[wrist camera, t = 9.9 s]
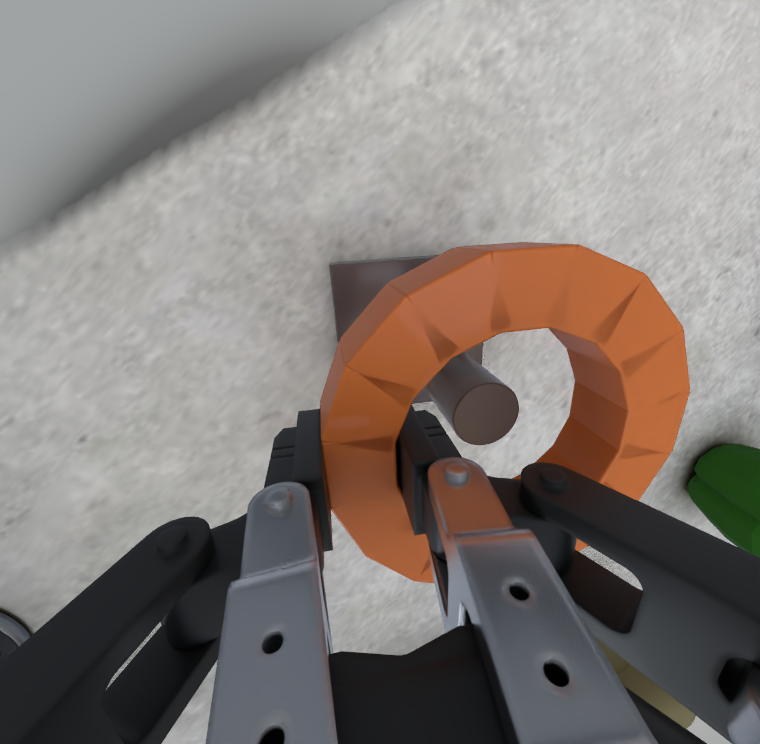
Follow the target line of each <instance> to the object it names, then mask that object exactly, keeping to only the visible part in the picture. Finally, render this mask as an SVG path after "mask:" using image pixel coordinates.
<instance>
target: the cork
mask: <svg viewBox="0 0 760 744" xmlns="http://www.w3.org/2000/svg"><path fill="white" fill-rule="evenodd" d="M594 637H595V636H594ZM595 638H596V637H595ZM596 640H597V642H598V643H599V645H600V647H601V648H602V650H603V652H604V653H605V655H606V657H607V659H608V660H609V662H610V664H611V665H612V667H613V669H614V670H615V672H616V674H617V676H618V677H619V679H620V681H621V682H622V684H623V685H624V686H625V687H627V688H628V689H630V690H631V691H632V692H634V693H635V694H637V695H638V696H640V697H641V698H642V699H644V700H645V701H647V702H648V703H649V704H651V705H652V706H654V707H655V708H657V709H658V710H659V711H661V712H662V713H664V714H665V715H667V716H668V717H669V718H671V719H672V720H674V721H675V722H677V723H678V724H679V725H681V726H682V727H684V728H685V729H687V728H688V727H689V726H690V725H691V724H692V722H693V721H694V719H695V716H696V715H695V714H694V713H692V712H691V711H690V710H688V709H687V708H686V707H685V706H683V705H682V704H681V703H679V702H678V701H677V700H676V699H674V698H673V697H672V696H671V695H669V694H668V693H667V692H665V691H664V690H663V689H662V688H660V687H659V686H658V685H656V684H655V683H654V682H653V681H651V680H650V679H649V678H647V677H646V676H645V675H644V674H642V673H641V672H640V671H638V670H637V669H636V668H635V667H633V666H632V665H631V664H629V663H628V662H627V661H626V660H624V659H623V658H622V657H620V656H619V655H618V654H617V653H615V652H614V651H613V650H611V649H610V648H609V647H608V646H606V645H605V644H604V643H602V642H601V641H600V640H599V639H597V638H596Z"/></svg>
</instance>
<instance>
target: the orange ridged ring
mask: <svg viewBox="0 0 760 744" xmlns="http://www.w3.org/2000/svg"><path fill="white" fill-rule="evenodd" d="M541 328H549V329H550V331H551V332H552V333H553V334H554V335H555V336H556V337H557V338H558V339H559V340H560V341H561V343H562V344H563V345H564V346H565V347H566V348H567V351H568V355H569V359H570V363H571V366H572V370H573V374H574V378H575V384H574V391H573V397H572V403H571V409H570V416H569V418H568V419H567V421H566V423H565V425H564V427H563V428H562V430H561V432H560V434H559V436H558V437H557V439H556V441H555V443H554V444H553V446H552V447H551V448H550V449H549V450H548V451H547V452H546V453H545V454H543V455H542V456H541V457H540V458H539V459H538V460H537V461H536V462H535V463H540V462H546V463H553V464H558V465H561V466H564V467H566V468H568V469H571V470H573V471H575V472H577V473H579V474H581V475H583V476H586V477H588V478H590V479H592V480H594V481H596V482H598V483H601V484H603V485H605V486H607V487H609V488H611V489H613V490H616V491H618V492H620V493H622V494H624V495H626V496H628V497H631V498H633V499H635V500H637V501H639V499H640V498H641V496H642V495H643V493H644V492H645V490H646V489H647V487H648V486H649V484H650V483H651V482H652V480H653V479H654V477H655V476H656V474H657V473H658V471H659V470H660V468H661V467H662V465H663V464H664V462H665V461H666V460H667V458H668V457H669V455H670V452H672V451H673V447H674V444H675V440H676V437H677V434H678V430H679V427H680V424H681V420H682V417H683V414H684V410H685V407H686V403H687V400H688V397H689V393H690V391H689V390H690V385H689V376H688V366H687V357H686V348H685V338H684V330H683V326H682V325H681V324H680V322H679V321H678V319H677V318H676V316H675V315H674V314H673V312H672V311H671V309H670V308H669V306H668V305H667V304H666V302H665V301H664V299H663V298H662V296H661V295H660V294H659V292H658V291H657V289H656V288H655V286H654V285H653V284H652V282H651V281H650V279H649V278H648V276H647V275H646V274H645V273H643V272H640V271H638V270H636V269H634V268H631V267H629V266H627V265H624V264H622V263H620V262H618V261H615V260H613V259H611V258H608V257H606V256H604V255H602V254H599V253H597V252H595V251H592V250H590V249H588V248H586V247H583V246H581V245H575V244H556V243H530V242H520V243H506V244H492V245H478V246H464V247H457V248H452V249H450V250H449V251H447V252H445V253H443V254H441V255H439V256H437V257H435V258H433V259H431V260H429V261H428V262H426V263H424V264H422V265H420V266H418V267H416V268H414V269H412V270H410V271H409V272H407V273H405V274H403V275H401V276H399V277H397V278H395V279H393V280H391V281H390V282H389V283H388V284H386V285H385V286H384V287H383V288H382V289H381V291H380V292H379V293H378V294H377V295H376V297H375V298H374V299H373V300H372V301H371V302H370V304H369V305H368V306H367V307H366V308H365V310H364V311H363V312H362V313H361V314H360V315H359V317H358V318H357V319H356V320H355V321H354V323H353V324H352V325H351V326H350V327H349V329H348V330H347V331H346V332H345V333H344V334H343V336H342V337H341V339H340V341H339V342H338V346H337V349H336V352H335V355H334V358H333V362H332V365H331V368H330V371H329V375H328V378H327V381H326V384H325V387H324V391H323V394H322V397H321V400H320V413H321V443H322V450H323V457H324V464H325V472H326V479H327V486H328V493H329V500H330V507H331V510H332V511H333V513H334V514H335V515H336V517H337V518H338V519H339V521H340V522H341V523H342V525H343V526H344V527H345V529H346V530H347V532H348V533H349V534H350V536H351V537H352V538H353V540H354V541H355V542H356V544H357V545H358V546H359V548H360V549H361V550H362V552H363V553H364V554H365V556H367V557H369V558H371V559H372V560H374V561H376V562H378V563H380V564H382V565H384V566H386V567H388V568H390V569H392V570H394V571H396V572H398V573H400V574H402V575H403V576H405V577H407V578H409V579H411V580H413V581H418V582H428V583H434V578H433V574H432V570H431V565H430V561H429V542H428V539H427V536H426V534H421V535H416V536H415V535H414V532H413V529H412V526H411V522H410V519H409V516H408V513H407V510H406V507H405V504H404V501H403V498H402V490H401V487H400V484H399V481H398V478H397V458H396V441H397V439H398V436H399V434H400V431H401V429H402V426H403V424H404V421H405V419H406V416H407V414H408V411H409V409H410V406H411V404H412V401H413V399H414V398H415V397H416V396H417V395H418V394H419V393H420V392H421V391H422V389H423V388H424V387H425V386H426V385H427V384H428V383H429V382H430V381H431V380H432V379H433V378H434V377H435V375H436V374H437V373H438V372H439V371H440V370H441V369H442V368H443V367H444V366H445V365H446V364H447V363H448V361H449V360H450V359H451V358H453V357H455V356H457V355H459V354H461V353H463V352H465V351H467V350H468V349H470V348H472V347H474V346H476V345H478V344H480V343H482V342H484V341H486V340H488V339H490V338H492V337H494V336H496V335H497V334H499V333H503V332H513V331H522V330H531V329H541ZM520 478H521V474H520V475H518V476H516V477H514V478H512V479H520ZM588 546H589V545H587V544H586V543H584V542H582V541H581V540H579V539H577V542H576V547H575V550H577V551H580V550H582V549H584V548H585V547H588Z"/></svg>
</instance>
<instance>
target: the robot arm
mask: <svg viewBox="0 0 760 744" xmlns="http://www.w3.org/2000/svg"><path fill="white" fill-rule="evenodd" d="M396 458H397V478H398V481H399V484H400V487H401V490H402V498H403V501H404V504H405V507H406V510H407V513H408V516H409V519H410V522H411V526H412V529H413V532H414V535H415V536H416V535H421V534H426V536H427V539H428V542H429V561H430V565H431V570H432V574H433V578H434V583H435V587H436V592H437V596H438V601H439V605H440V610H441V614H442V619H443V623H444V628H445V634H443V635H441V636H439V637H438V638H436V639H434V640H432V641H431V642H429V643H427V644H425V645H423V646H422V647H420V648H418V649H416V650H414V651H413V652H411V653H409V654H407V655H402V656H396V655H383V654H369V653H356V652H343V651H342V652H337V653H333V646H332V639H331V631H330V624H329V616H328V608H327V601H326V593H325V586H324V578H323V568H324V552H325V551H330V550H333V546H332V525H331V507H330V500H329V493H328V486H327V479H326V472H325V464H324V457H323V450H322V443H321V413H320V409H314V410H306V411H299V412H298V420H297V427H292V428H284V429H282V431H281V432H280V433H279V434H278V435H277V436H276V437H275V438H274V443H273V448H272V453H271V459H270V462H269V467H268V471H267V476H266V481H265V486H264V489H262V490H261V491H260V492H258V493H257V494H256V495H255V496H254V497H253V498H252V500H251V501H250V503H249V505H248V511H247V513H246V514H245V515H243V516H241V517H239V518H238V519H235V520H233V521H231V522H228V523H226V524H223V525H221V526H218V527H215V528H213V529H210V527H209V524H208V523H207V522H206V521H205V520H204V519H202V518H199V517H184V518H179V519H176V520H173V521H170V522H168V523H166V524H164V525H162V526H160V527H158V528H157V529H155V530H154V531H152V532H151V533H150V534H149V535H147V536H146V537H145V538H144V539H143V540H142V541H141V542H139V543H138V544H137V545H136V546H135V547H134V548H132V549H131V550H130V551H129V552H128V553H127V554H125V555H124V556H123V557H122V558H121V559H120V560H119V561H117V562H116V563H115V564H114V565H113V566H112V567H110V568H109V569H108V570H107V571H106V572H105V573H104V574H102V575H101V576H100V577H99V578H98V579H97V580H95V581H94V582H93V583H92V584H91V585H90V586H89V587H87V588H86V589H85V590H84V591H83V592H82V593H80V594H79V595H78V596H77V597H76V598H75V599H73V600H72V601H71V602H70V603H69V604H68V605H67V606H65V607H64V608H63V609H62V610H61V611H60V612H58V613H57V614H56V615H55V616H54V617H53V618H52V619H50V620H49V621H48V622H47V623H46V624H45V625H43V626H42V627H41V628H40V629H39V630H38V631H37V632H35V633H34V634H33V635H32V636H31V637H30V635H29V633H28V632H27V631H26V629H25V628H24V627H23V626H22V625H20V624H19V623H18V622H17V621H15V620H14V619H12V618H10V617H9V616H7V615H5V614H3V613H1V612H0V744H161V743H162V742H163V740H164V739H165V737H166V736H167V734H168V733H169V731H170V730H171V728H172V727H173V725H174V724H175V722H176V721H177V719H178V718H179V716H180V715H181V713H182V712H183V710H184V709H185V707H186V706H187V704H188V703H189V701H190V700H191V698H192V697H193V695H194V694H195V692H196V691H197V689H198V688H199V686H200V685H201V683H202V682H203V680H204V679H205V677H206V676H207V674H208V673H209V671H210V670H211V668H212V667H213V665H214V664H215V662H216V661H217V659H218V662H217V669H216V676H215V683H214V690H213V697H212V703H211V710H210V717H209V724H208V731H207V738H206V744H707V743H705V742H704V741H702V740H701V739H699V738H698V737H696V736H695V735H694V734H692V733H691V732H689V731H688V730H687V729H685V728H684V727H682V726H681V725H679V724H678V723H677V722H675V721H674V720H672V719H671V718H669V717H668V716H667V715H665V714H664V713H662V712H661V711H659V710H658V709H657V708H655V707H654V706H652V705H651V704H649V703H648V702H647V701H645V700H644V699H642V698H641V697H640V696H638V695H637V694H635V693H634V692H632V691H631V690H630V689H628V688H627V687H625V686H624V685H623V684H622V682H621V681H620V679H619V677H618V676H617V674H616V672H615V670H614V669H613V667H612V665H611V664H610V662H609V660H608V659H607V657H606V655H605V653H604V652H603V650H602V648H601V647H600V645H599V643H598V642H597V640H596V638H597V639H599V640H600V641H601V642H602V643H604V644H605V645H606V646H608V647H609V648H610V649H611V650H613V651H614V652H615V653H617V654H618V655H619V656H620V657H622V658H623V659H624V660H626V661H627V662H628V663H629V664H631V665H632V666H633V667H635V668H636V669H637V670H638V671H640V672H641V673H642V674H644V675H645V676H646V677H647V678H649V679H650V680H651V681H653V682H654V683H655V684H656V685H658V686H659V687H660V688H662V689H663V690H664V691H665V692H667V693H668V694H669V695H671V696H672V697H673V698H674V699H676V700H677V701H678V702H679V703H681V704H682V705H683V706H685V707H686V708H687V709H688V710H690V711H691V712H692V713H694V714H695V715H696V716H698V717H699V718H700V719H701V720H703V721H704V722H705V723H706V724H708V725H709V726H710V727H712V728H713V729H714V730H715V731H717V732H718V733H719V734H721V735H722V736H723V737H725V738H726V739H727V740H728V741H730V742H731V743H732V744H760V558H759V557H757V556H755V555H753V554H751V553H749V552H746V551H744V550H742V549H740V548H738V547H736V546H734V545H731V544H729V543H727V542H725V541H723V540H721V539H719V538H716V537H714V536H712V535H710V534H708V533H706V532H704V531H701V530H699V529H697V528H695V527H693V526H691V525H689V524H686V523H684V522H682V521H680V520H678V519H676V518H673V517H671V516H669V515H667V514H665V513H663V512H661V511H658V510H656V509H654V508H652V507H650V506H648V505H646V504H643V503H641V502H639V501H637V500H635V499H633V498H631V497H628V496H626V495H624V494H622V493H620V492H618V491H616V490H613V489H611V488H609V487H607V486H605V485H603V484H601V483H598V482H596V481H594V480H592V479H590V478H588V477H586V476H583V475H581V474H579V473H577V472H575V471H573V470H571V469H568V468H566V467H564V466H561V465H558V464H553V463H546V462H540V463H533V464H530V465H528V466H526V467H525V468H524V469H523V470H522V472H521V478H520V479H507V478H495V477H490V476H487V475H486V474H485V472H484V470H483V469H482V468H481V467H480V466H479V465H478V464H477V463H475V462H473V461H471V460H469V459H465V458H462V456H461V455H460V453H459V452H458V450H457V449H456V447H455V446H454V444H453V442H452V441H451V439H450V438H449V436H448V435H446V432H445V430H444V429H443V427H442V425H441V424H440V422H439V421H438V419H437V418H436V417H435V416H434V415H432V414H431V413H429V412H427V411H426V410H422V411H415V410H414V408H413V406H412V405H411V406H410V409H409V411H408V414H407V416H406V419H405V421H404V424H403V426H402V429H401V431H400V434H399V436H398V439H397V441H396ZM577 539H579V540H581V541H582V542H584V543H586V544H587V545H589V546H591V547H592V548H594V549H596V550H597V551H599V552H601V553H602V554H604V555H605V556H607V557H609V558H610V559H612V560H614V561H615V562H617V563H619V564H620V565H622V566H624V567H625V568H627V569H628V570H629V571H631V572H632V573H633V574H634V575H635V576H636V577H637V579H638V580H639V582H640V583H641V585H642V588H643V591H642V590H640V589H637V588H636V587H634V586H632V585H631V584H629V583H627V582H626V581H624V580H623V579H621V578H619V577H618V576H616V575H615V574H613V573H612V572H610V571H608V570H607V569H605V568H604V567H602V566H600V565H599V564H597V563H596V562H594V561H592V560H591V559H589V558H588V557H586V556H585V555H583V554H581V553H580V552H578V551H577V550H575V547H576V542H577ZM159 622H161V624H162V626H161V627H160V628H159V629H158V631H157V632H156V633H155V634H154V635H153V636H152V638H151V639H150V640H149V641H148V642H147V643H146V644H145V646H144V647H143V648H142V649H141V650H140V651H139V653H138V654H137V655H136V656H135V657H134V658H133V660H132V661H131V662H130V663H129V664H128V665H127V667H126V668H125V669H124V670H123V671H122V672H121V673H120V675H119V676H118V677H117V678H116V679H115V680H114V682H113V683H112V684H111V685H110V686H109V687H108V689H107V690H106V688H107V686H108V684H109V682H110V680H111V679H112V677H113V676H114V674H115V673H116V672H117V671H118V669H119V668H120V667H121V666H122V665H123V664H124V662H125V661H126V660H127V659H128V658H129V657H130V656H131V654H132V653H133V652H134V651H135V650H136V649H137V648H138V646H139V645H140V644H141V643H142V642H143V641H144V640H145V638H146V637H147V636H148V635H149V634H150V633H151V632H152V630H153V629H154V628H155V627H156V626H157V625H158V624H159ZM594 636H595V637H596V638H595V637H594ZM105 690H106V691H105Z"/></svg>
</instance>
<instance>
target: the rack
mask: <svg viewBox="0 0 760 744" xmlns="http://www.w3.org/2000/svg"><path fill="white" fill-rule="evenodd" d="M437 256H439V255H432V256H419V257H405V258H392V259H378V260H365V261H351V262H338V263H330V264H329V266H330V276H331V285H332V294H333V304H334V313H335V322H336V331H337V341H338V342H339V341H340V339H341V337H342V336H343V334H344V333H345V332H346V331H347V330H348V329H349V327H350V326H351V325H352V324H353V323H354V321H355V320H356V319H357V318H358V317H359V315H360V314H361V313H362V312H363V311H364V310H365V308H366V307H367V306H368V305H369V304H370V302H371V301H372V300H373V299H374V298H375V297H376V295H377V294H378V293H379V292H380V291H381V289H382V288H383V287H384V286H385V285H386V284H388V283H389V282H390V281H391V280H393V279H395V278H397V277H399V276H401V275H403V274H405V273H407V272H409V271H410V270H412V269H414V268H416V267H418V266H420V265H422V264H424V263H426V262H428V261H429V260H431V259H433V258H435V257H437ZM482 348H483V342H482V343H480V344H478V345H476V346H474V347H472V348H470V349H468V350H467V351H465V352H463V353H461V354H459V355H457V356H455V357H453V358H451V359H450V360H449V361H448V363H447V364H446V365H445V366H444V367H443V368H442V369H441V370H440V371H439V372H438V373H437V374H436V375H435V377H434V378H433V379H432V380H431V381H430V382H429V383H428V384H427V385H426V386H425V387H424V388H423V389H422V391H421V392H420V393H419V394H418V395H417V396H416V397H415V398H414V399H413V401H412V404H414V403H422V402H430V401H434V403H435V404H436V405H437V407H438V408H439V410H440V411H441V413H442V414H443V415H444V417H445V418H446V420H447V421H448V423H449V424H450V426H451V427H452V428H453V430H454V431H455V433H456V434H457V435H458V437H459V438H461V439H462V440H463V441H465V442H467V443H470V444H474V445H485V444H490V443H493V442H495V441H497V440H499V439H501V438H502V437H503V436H505V435H506V434H507V433H508V432H509V431H510V430H511V428H512V427H513V425H514V424H515V422H516V419H517V416H518V412H519V405H518V400H517V397H516V395H515V394H514V392H513V391H512V390H511V389H510V388H509V387H508V386H506V385H505V384H504V383H503V382H501V381H500V380H499V379H498V378H496V377H495V376H494V375H493V374H491V373H490V372H489V371H487V370H486V369H485V368H484V367H482Z"/></svg>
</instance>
